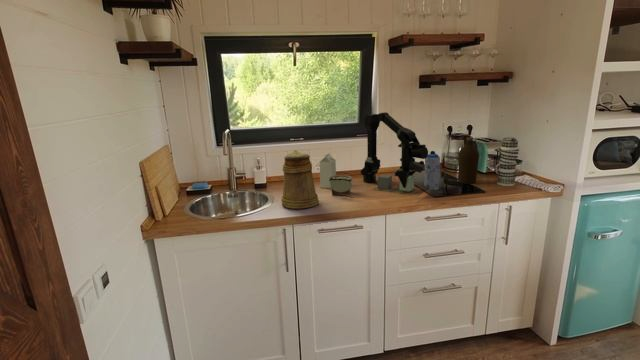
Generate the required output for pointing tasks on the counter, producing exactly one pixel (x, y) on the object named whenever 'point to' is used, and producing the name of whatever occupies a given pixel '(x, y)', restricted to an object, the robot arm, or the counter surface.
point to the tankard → (298, 182)
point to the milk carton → (327, 170)
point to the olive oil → (468, 163)
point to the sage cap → (408, 184)
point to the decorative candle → (507, 161)
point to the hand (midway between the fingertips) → (406, 186)
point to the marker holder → (397, 190)
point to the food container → (340, 185)
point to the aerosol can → (432, 171)
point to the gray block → (385, 182)
